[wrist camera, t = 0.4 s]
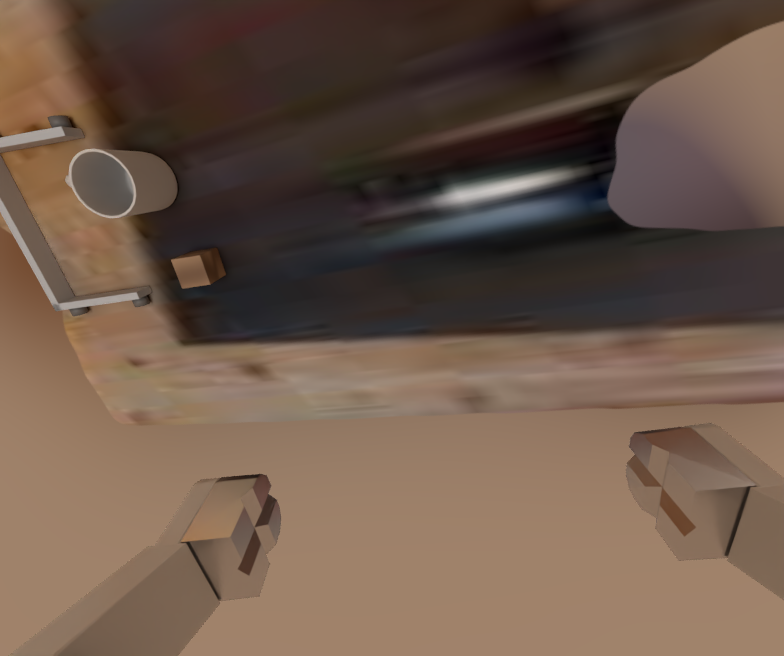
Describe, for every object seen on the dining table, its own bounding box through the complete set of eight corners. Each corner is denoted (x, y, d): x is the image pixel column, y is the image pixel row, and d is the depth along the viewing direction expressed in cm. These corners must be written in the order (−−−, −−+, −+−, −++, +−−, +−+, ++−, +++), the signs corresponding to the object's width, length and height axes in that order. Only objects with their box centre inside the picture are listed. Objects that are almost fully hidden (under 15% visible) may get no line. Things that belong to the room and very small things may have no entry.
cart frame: (-19, 133, 47) (-45, 131, 44) (75, 116, 46) (55, 112, 43) (76, 312, 56) (60, 319, 54) (155, 300, 56) (143, 307, 53)
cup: (183, 211, 50) (142, 220, 42) (110, 207, 50) (55, 214, 42) (174, 153, 47) (127, 150, 39) (96, 148, 47) (33, 144, 39)
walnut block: (190, 251, 53) (170, 259, 48) (217, 247, 52) (199, 255, 48) (200, 278, 54) (182, 288, 50) (226, 274, 54) (210, 284, 49)
